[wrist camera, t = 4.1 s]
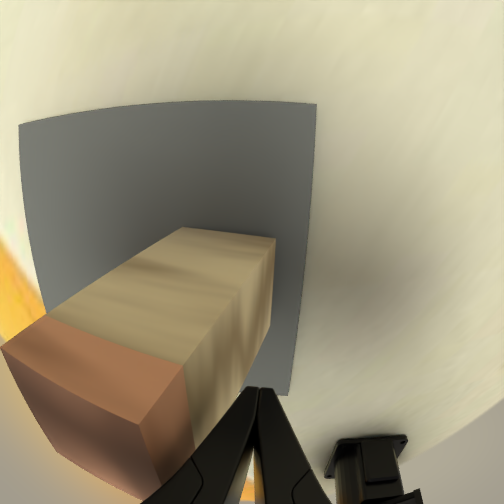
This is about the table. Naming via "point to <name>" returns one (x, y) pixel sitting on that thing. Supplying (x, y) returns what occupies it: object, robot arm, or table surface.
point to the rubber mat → (172, 195)
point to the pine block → (148, 355)
